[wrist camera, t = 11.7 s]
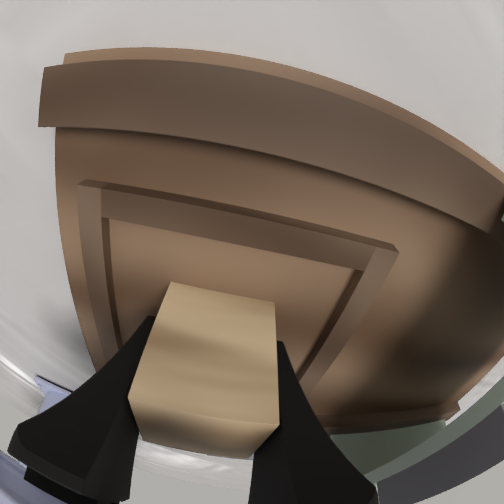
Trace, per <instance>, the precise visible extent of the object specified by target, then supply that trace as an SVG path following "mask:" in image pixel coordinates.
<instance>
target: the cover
mask: <svg viewBox="0 0 504 504" xmlns="http://www.w3.org/2000/svg"><path fill="white" fill-rule="evenodd" d="M501 220H502V221H503V222H504V214H503V217H502V219H501ZM330 438H331V439H332V441H333V442H334V443H335V444H336V446H337V447H338V448H339V449H340V451H341V452H342V453H343V454H344V455H345V457H346V458H347V459H348V460H349V461H350V462H351V463H352V464H353V466H354V467H355V468H356V469H357V470H358V471H359V472H360V473H361V474H362V475H364V476H365V477H366V478H367V479H368V480H369V481H370V482H371V483H372V484H374V485H375V486H376V490H378V496H379V504H414V503H416V502H419V501H422V500H425V499H428V498H430V497H433V496H435V495H437V494H440V493H442V492H444V491H447V490H449V489H451V488H453V487H456V486H458V485H460V484H462V483H464V482H466V481H468V480H470V479H472V478H474V477H475V476H477V475H479V474H481V473H483V472H484V471H486V470H488V469H490V468H491V467H493V466H495V465H496V464H498V463H499V462H501V461H503V460H504V376H503V377H502V378H501V379H500V380H499V381H498V382H497V383H496V384H495V385H494V386H493V387H492V388H491V389H490V390H489V391H488V392H487V393H486V394H485V395H484V396H483V397H482V398H480V399H479V400H478V401H477V402H476V403H475V404H474V405H472V406H471V407H470V408H469V409H468V410H467V411H465V412H464V413H463V414H462V415H460V416H459V417H458V418H457V419H455V420H454V421H453V422H451V423H450V424H449V425H447V426H446V423H445V420H440V421H436V422H431V423H427V424H422V425H417V426H411V427H405V428H399V429H392V430H385V431H377V432H368V433H356V434H340V435H331V436H330Z"/></svg>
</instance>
